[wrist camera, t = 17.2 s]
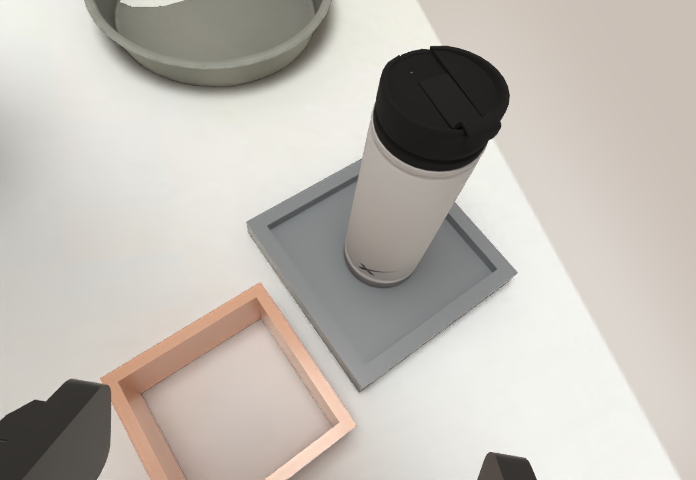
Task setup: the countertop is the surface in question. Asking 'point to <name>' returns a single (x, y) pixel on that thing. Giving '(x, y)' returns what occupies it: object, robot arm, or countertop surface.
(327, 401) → the holder
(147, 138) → the countertop surface
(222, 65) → the cake pan
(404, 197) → the travel mug
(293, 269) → the tray
